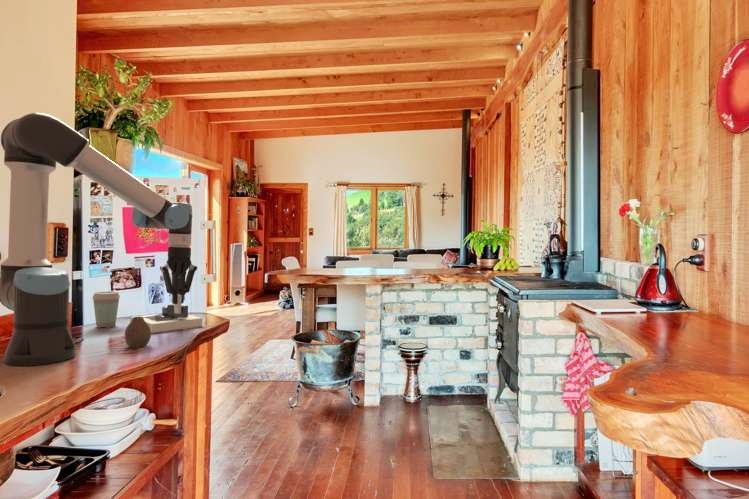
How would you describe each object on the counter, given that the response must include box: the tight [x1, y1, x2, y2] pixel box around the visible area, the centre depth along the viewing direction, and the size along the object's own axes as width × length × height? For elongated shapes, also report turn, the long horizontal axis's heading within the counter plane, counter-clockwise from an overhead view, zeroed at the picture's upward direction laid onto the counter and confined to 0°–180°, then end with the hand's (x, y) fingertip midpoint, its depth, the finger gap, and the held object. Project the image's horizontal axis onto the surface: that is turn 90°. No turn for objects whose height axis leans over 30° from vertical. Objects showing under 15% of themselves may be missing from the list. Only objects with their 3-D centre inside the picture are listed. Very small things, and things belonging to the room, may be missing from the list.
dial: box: [154, 303, 189, 322], centre depth 167 cm, size 12×8×6 cm, turn 71°
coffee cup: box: [91, 291, 121, 328], centre depth 164 cm, size 8×8×12 cm
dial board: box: [129, 313, 203, 334], centre depth 168 cm, size 18×18×3 cm
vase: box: [124, 316, 152, 349], centre depth 137 cm, size 7×7×9 cm
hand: (177, 313), depth 164 cm, fingers closed
